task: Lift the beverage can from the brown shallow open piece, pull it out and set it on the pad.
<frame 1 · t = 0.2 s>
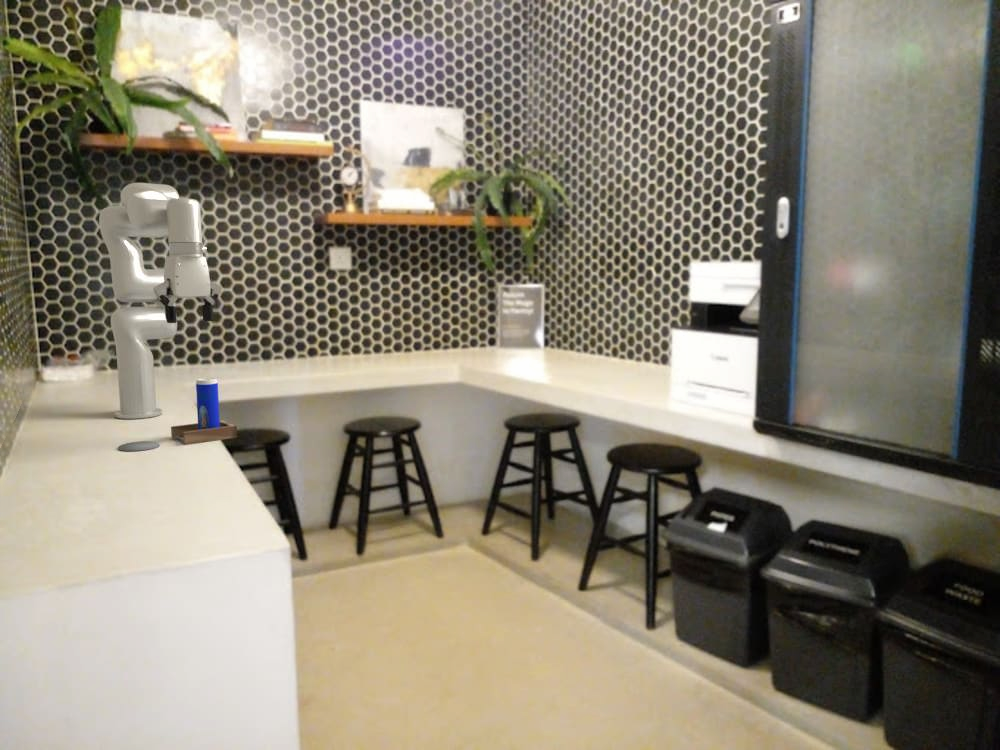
hand: (190, 321, 183), 30 cm above the counter, fingers open, 9 cm apart
beverage can: (209, 437, 193), resting in brown shallow open piece
pad: (139, 447, 181), on the counter
brown shallow open piece: (209, 437, 192), on the counter
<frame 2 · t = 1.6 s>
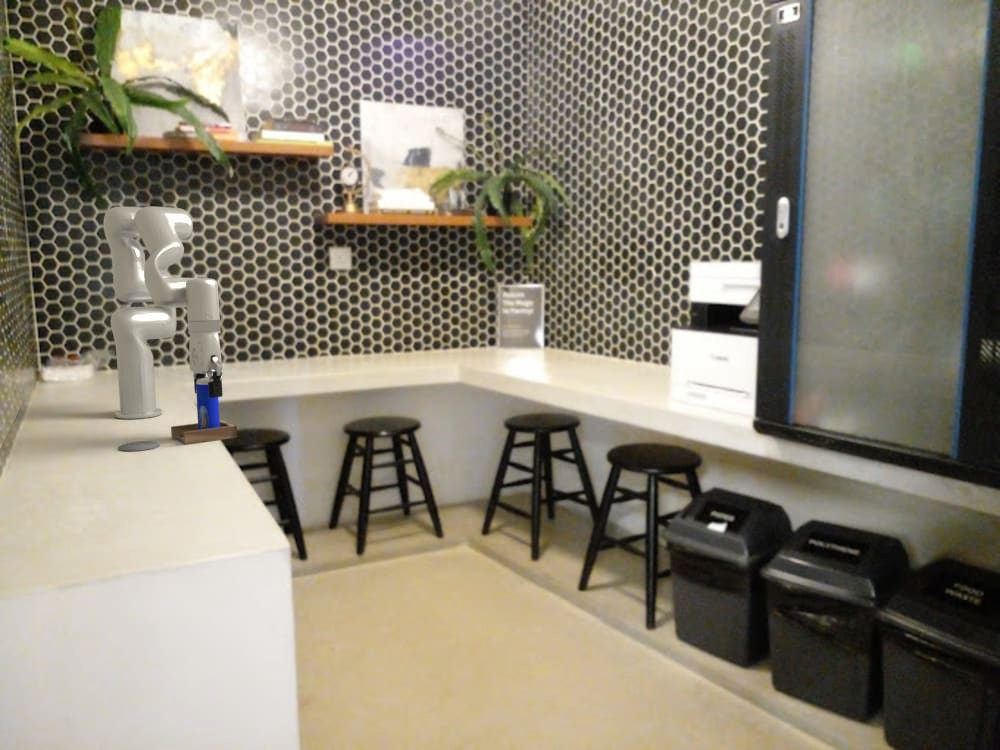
hand: (208, 395, 191), 11 cm above the counter, fingers open, 9 cm apart
nothing on the counter moved.
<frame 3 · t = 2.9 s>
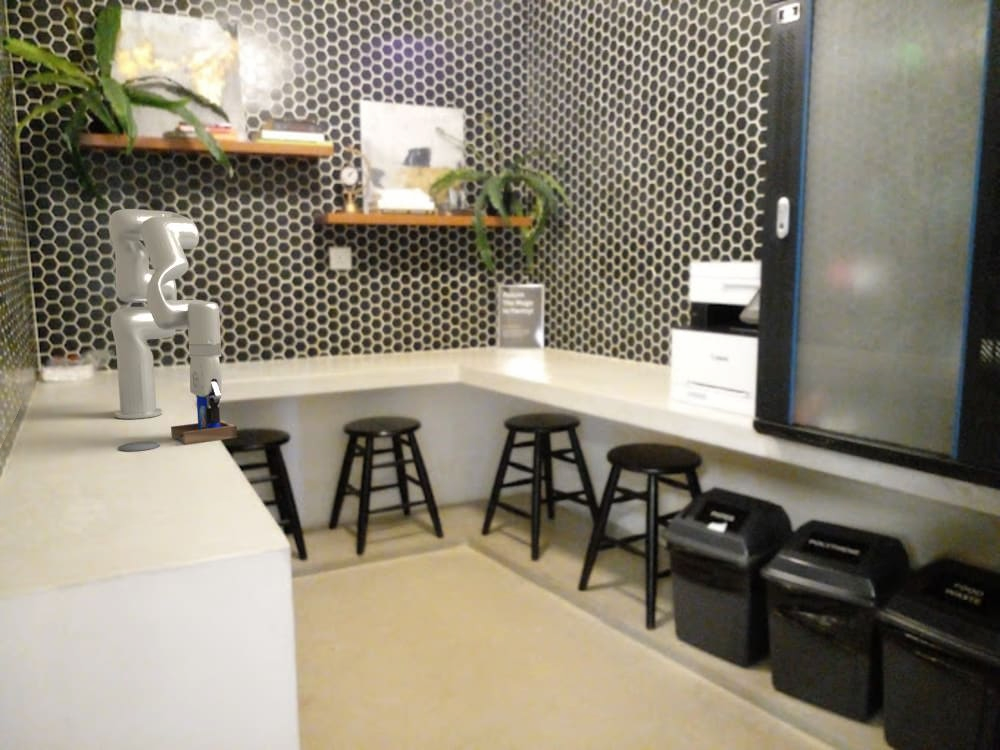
hand: (208, 420, 192), 4 cm above the counter, fingers closed on beverage can, 5 cm apart
beverage can: (209, 437, 193), resting in brown shallow open piece, touching gripper
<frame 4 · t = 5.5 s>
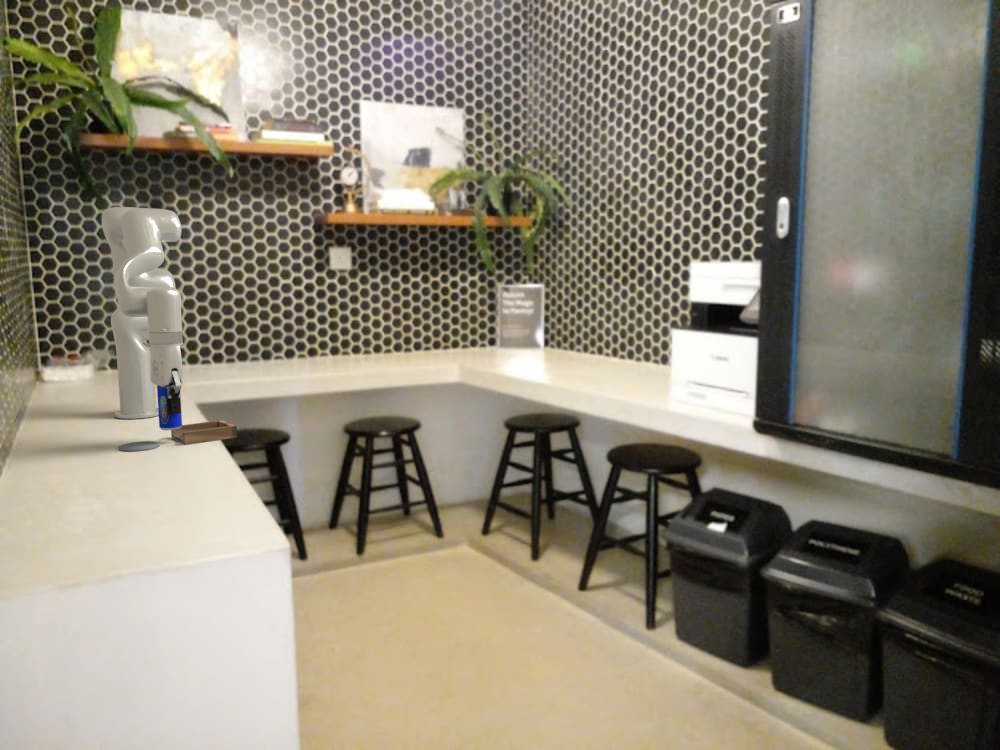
hand: (169, 411, 185), 8 cm above the counter, fingers closed on beverage can, 5 cm apart
beverage can: (170, 429, 186), point 3 cm above the counter, touching gripper
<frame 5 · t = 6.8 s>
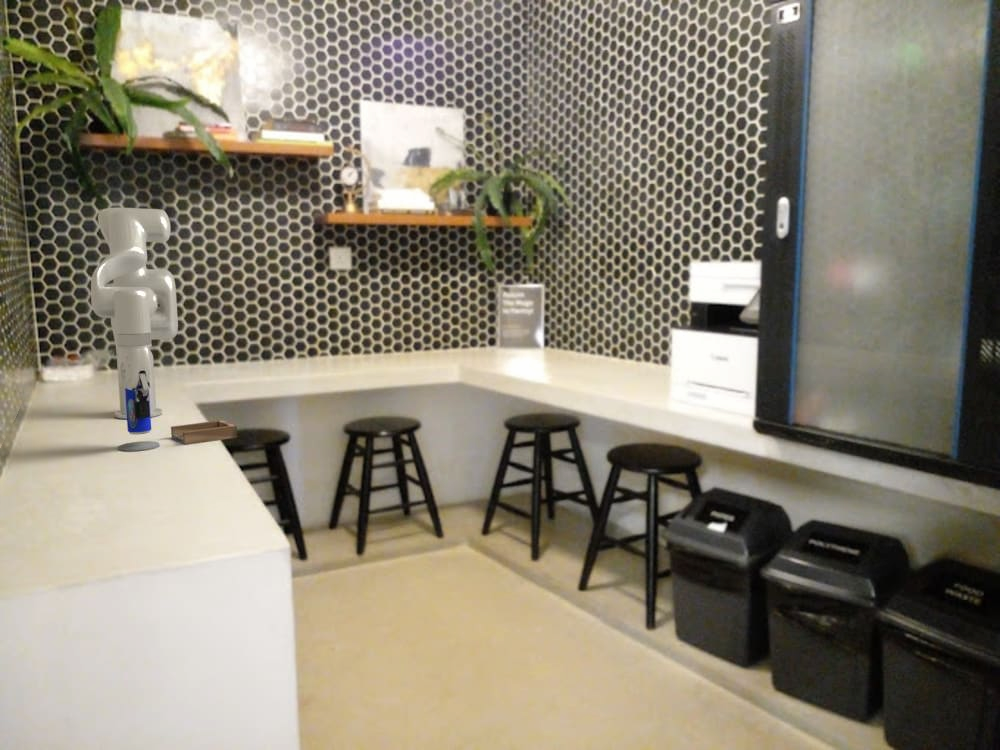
hand: (138, 415, 181), 8 cm above the counter, fingers closed on beverage can, 5 cm apart
beverage can: (139, 433, 181), point 3 cm above the counter, touching gripper
when the fingers open (5 cm above the counter, at t = 8.0 s): beverage can stays where it is, resting on pad.
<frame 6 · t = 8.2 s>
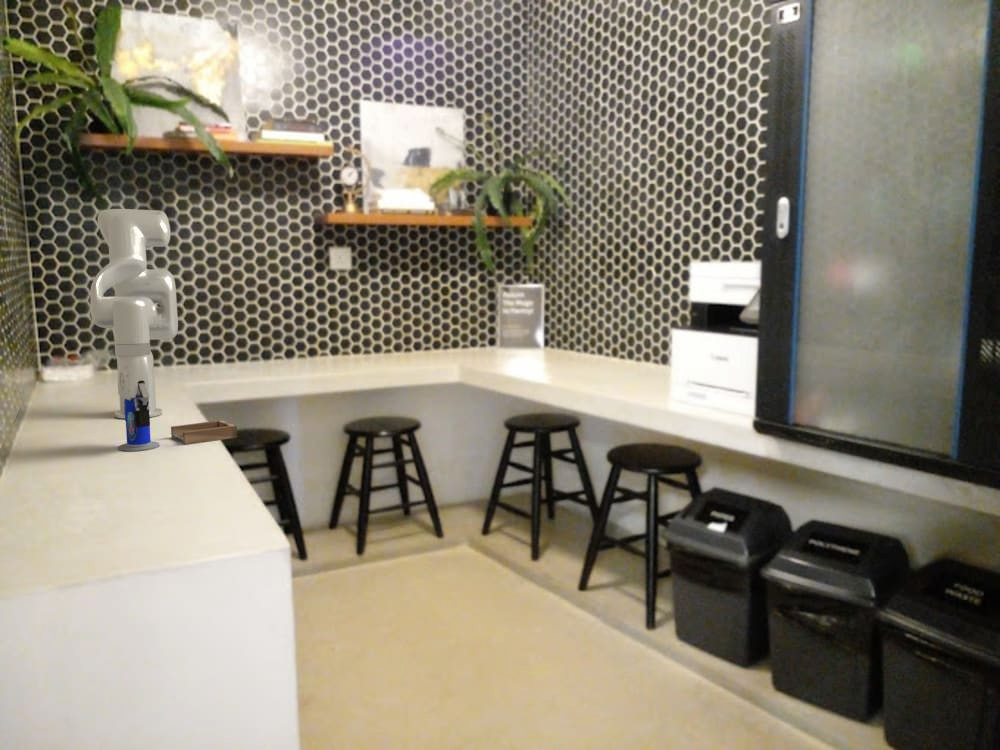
hand: (137, 423, 181), 6 cm above the counter, fingers open, 7 cm apart
beverage can: (139, 445, 182), resting on pad
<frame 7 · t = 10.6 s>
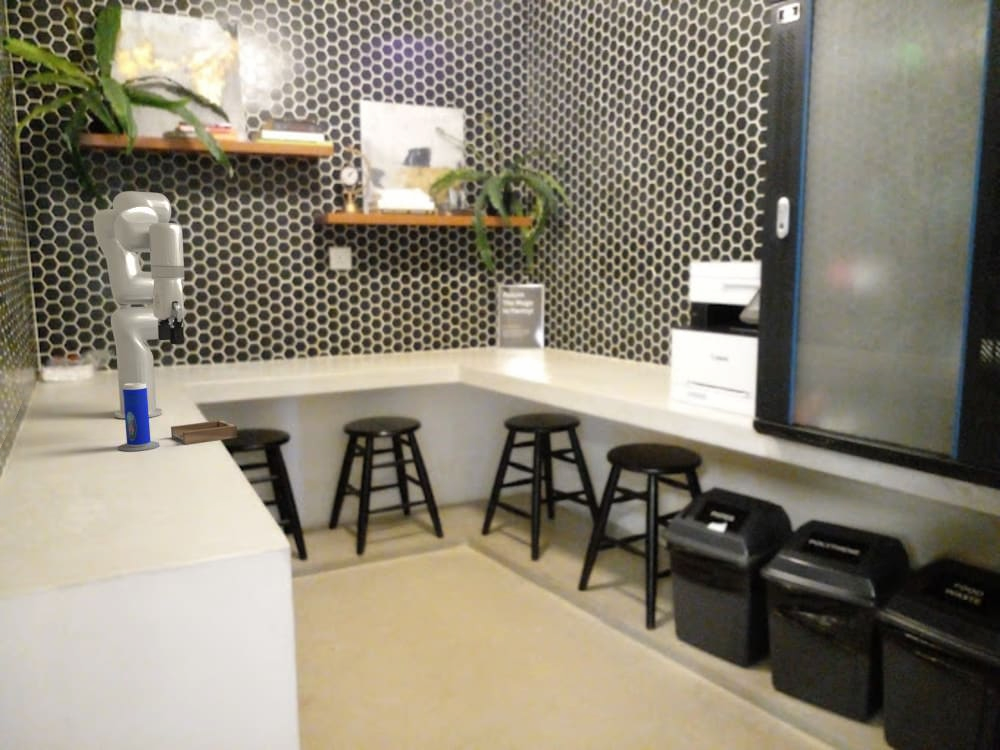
hand: (171, 341, 189), 24 cm above the counter, fingers open, 9 cm apart
nothing on the counter moved.
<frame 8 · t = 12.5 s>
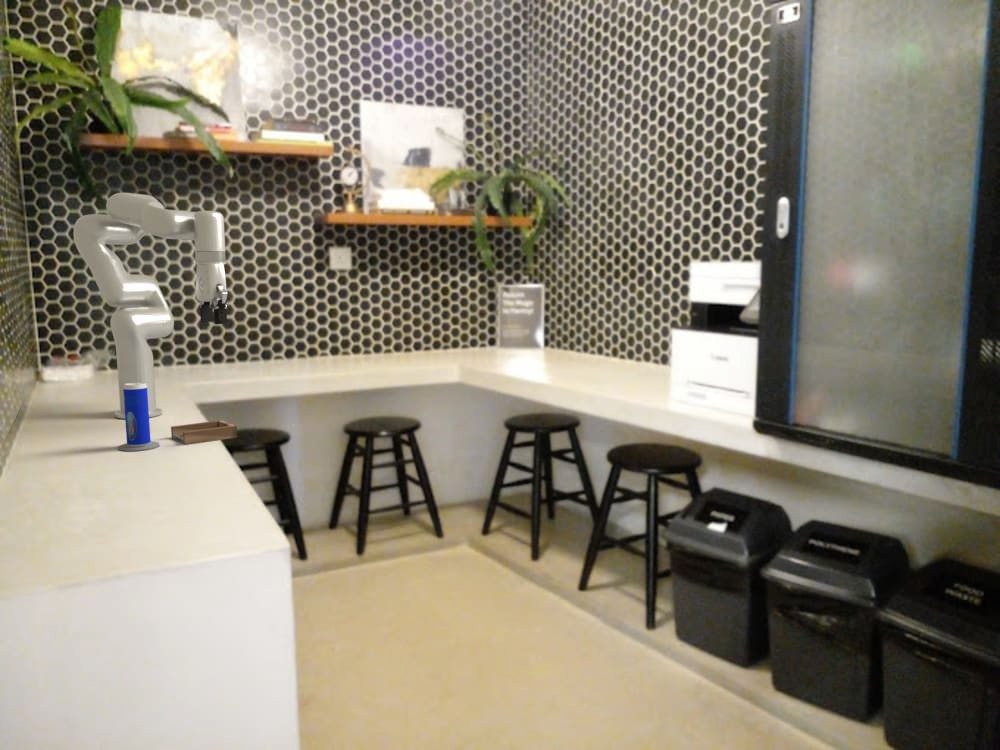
hand: (213, 322, 202), 28 cm above the counter, fingers open, 9 cm apart
nothing on the counter moved.
at the end: beverage can 0.2 cm from the pad (horizontally); beverage can tilted 1°; the gripper is holding nothing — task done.
